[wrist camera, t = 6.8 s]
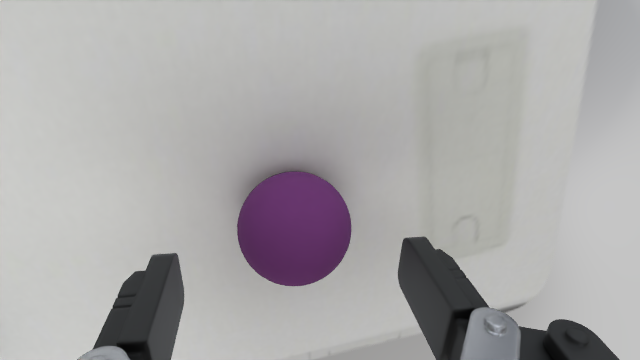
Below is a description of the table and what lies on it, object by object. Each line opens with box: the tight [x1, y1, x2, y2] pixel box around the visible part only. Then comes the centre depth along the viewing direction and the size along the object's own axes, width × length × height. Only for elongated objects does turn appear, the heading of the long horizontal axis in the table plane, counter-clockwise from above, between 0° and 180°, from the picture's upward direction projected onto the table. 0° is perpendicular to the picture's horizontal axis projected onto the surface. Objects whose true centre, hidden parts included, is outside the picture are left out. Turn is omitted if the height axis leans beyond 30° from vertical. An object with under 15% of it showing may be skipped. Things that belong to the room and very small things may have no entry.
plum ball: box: [237, 172, 351, 286], centre depth 16 cm, size 5×5×5 cm
